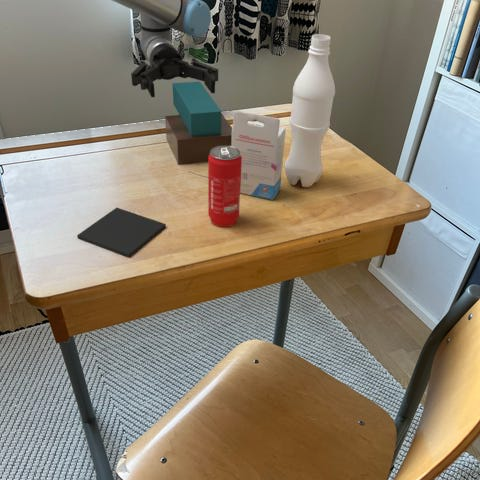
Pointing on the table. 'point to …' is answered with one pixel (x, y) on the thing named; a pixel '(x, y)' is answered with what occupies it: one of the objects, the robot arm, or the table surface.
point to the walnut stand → (194, 140)
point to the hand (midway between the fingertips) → (183, 88)
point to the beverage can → (224, 185)
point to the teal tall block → (197, 108)
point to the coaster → (122, 232)
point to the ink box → (259, 153)
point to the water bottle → (310, 114)
